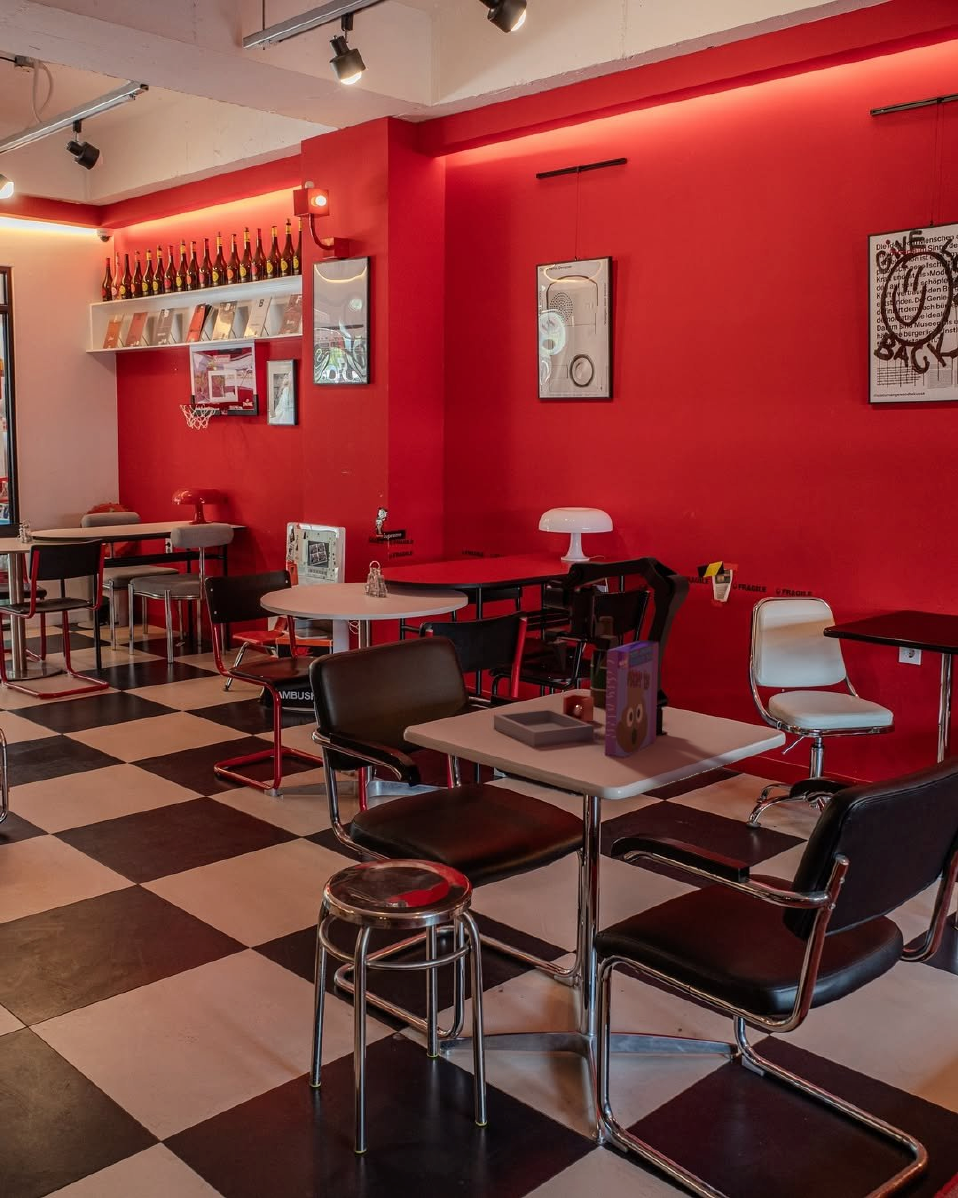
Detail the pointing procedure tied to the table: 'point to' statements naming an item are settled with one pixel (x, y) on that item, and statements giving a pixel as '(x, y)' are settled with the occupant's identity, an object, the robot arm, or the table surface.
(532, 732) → the slate tray
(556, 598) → the robot arm
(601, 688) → the beer bottle
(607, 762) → the table surface
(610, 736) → the cereal box
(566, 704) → the red arch stool
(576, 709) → the steel ball
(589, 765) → the table surface
